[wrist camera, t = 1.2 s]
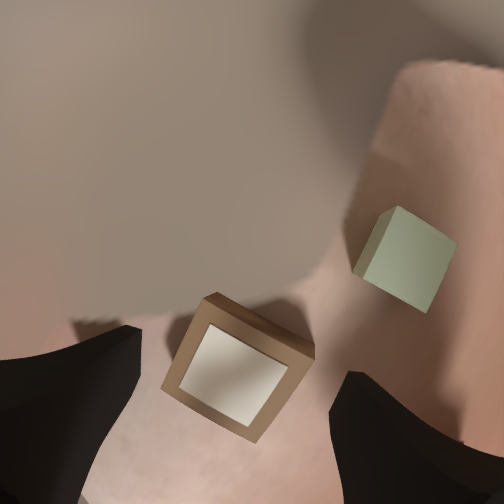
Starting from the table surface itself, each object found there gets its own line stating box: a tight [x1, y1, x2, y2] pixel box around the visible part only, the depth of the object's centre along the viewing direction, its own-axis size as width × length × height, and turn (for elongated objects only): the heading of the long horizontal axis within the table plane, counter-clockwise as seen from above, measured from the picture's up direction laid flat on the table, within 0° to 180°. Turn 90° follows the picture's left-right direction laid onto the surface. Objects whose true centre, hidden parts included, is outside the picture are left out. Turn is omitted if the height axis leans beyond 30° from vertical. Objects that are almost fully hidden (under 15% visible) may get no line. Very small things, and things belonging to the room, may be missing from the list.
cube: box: [352, 205, 458, 313], centre depth 17 cm, size 4×4×4 cm
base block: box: [160, 292, 315, 443], centre depth 19 cm, size 8×8×3 cm
